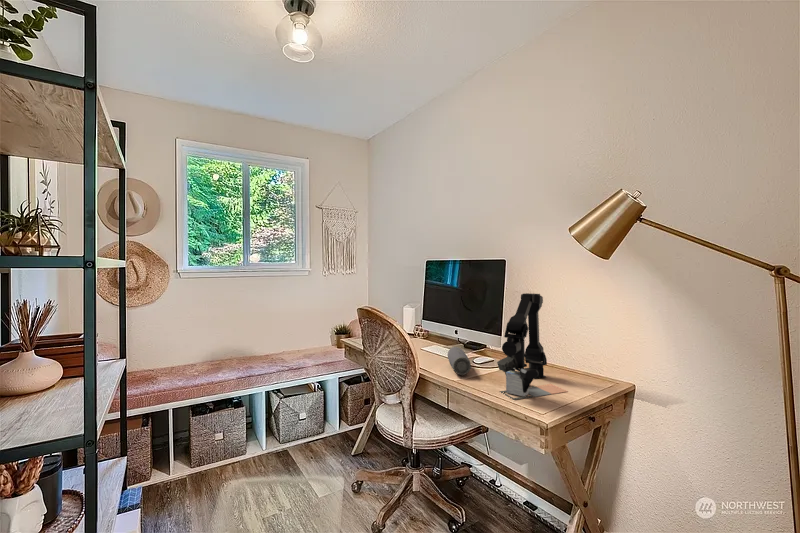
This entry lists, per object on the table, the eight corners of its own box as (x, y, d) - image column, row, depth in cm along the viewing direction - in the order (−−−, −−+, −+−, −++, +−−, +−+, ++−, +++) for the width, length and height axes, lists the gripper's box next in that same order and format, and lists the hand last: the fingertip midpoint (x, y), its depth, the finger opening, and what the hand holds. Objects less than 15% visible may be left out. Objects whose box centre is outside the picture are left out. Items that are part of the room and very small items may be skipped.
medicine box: (528, 394, 155) (528, 373, 155) (524, 397, 151) (524, 375, 151) (510, 390, 160) (510, 369, 160) (505, 392, 157) (505, 371, 157)
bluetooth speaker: (472, 377, 179) (472, 356, 179) (452, 377, 179) (452, 356, 179) (464, 364, 202) (464, 345, 202) (446, 364, 202) (446, 345, 202)
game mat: (499, 392, 159) (499, 391, 159) (550, 384, 168) (550, 383, 168) (514, 400, 149) (514, 399, 149) (567, 391, 158) (567, 391, 158)
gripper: (487, 347, 162) (487, 384, 162) (515, 358, 144) (515, 399, 144) (509, 345, 165) (509, 381, 166) (539, 355, 148) (539, 395, 148)
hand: (517, 389), depth 156 cm, fingers closed on medicine box, 9 cm apart
